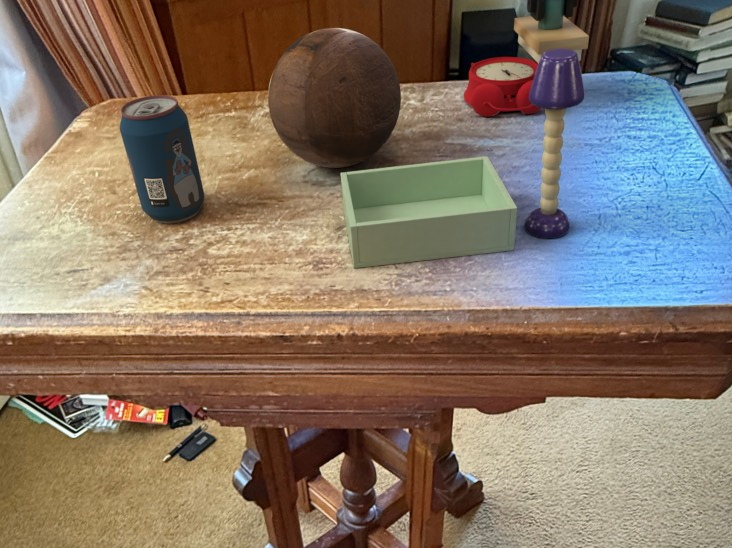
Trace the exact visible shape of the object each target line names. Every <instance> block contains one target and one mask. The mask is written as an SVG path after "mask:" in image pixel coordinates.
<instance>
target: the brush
mask: <svg viewBox="0 0 732 548" xmlns="http://www.w3.org/2000/svg"><path fill="white" fill-rule="evenodd" d="M564 6H565V0H544V13H543V19H542V20H541V21H536V20H535V19H534V18H533V17H531V15H528V16H521V17H514V23H513V30H514V32H515V33H516V34H517V35H518V38H517V43H518V44H519V45H520V46H521V47H522V48H523V49H524V50H525V52H527V53H528V54H529V55H530V57H531V58H533V60H534V62H536V63H537V64H539V61H540V58H541V56H542V54H543V53H544V52H546V51H549V50H552V49H570V50H573V51H575V52H576V53H577V55H578V58H579V62H580V61H582V52H583V50H588V49H589V42H590V41H589V40H590V35H588V33H586V32H585V31H583V30H582V29H581V28H580V27H579V26H577V25H576V24H574V23H573V22H572V21H571V20H570V19H568V17H567V16H565V15H564Z"/></svg>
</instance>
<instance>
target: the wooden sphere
mask: <svg viewBox="0 0 732 548" xmlns="http://www.w3.org/2000/svg"><path fill="white" fill-rule="evenodd" d="M269 80H270V81H269V84H268V92H267V93H268V95H267V101H268V111H269V116H270V119H271V123H272V125H273V127H274V129H275V132H276V134H277V135H278V137H279V138H280V140H281V141H282V143H283V144H284V145H285V146H286V147H287V148H288V149H289V150H290V151H291V152H292V153H293V154H295V156H297V157H299V158H300V159H301V160H303V161H306V162H308V163H310V164H312V165H315V166H318V167H323V168H331V169H338V168H347V167H350V166H354V165H357V164H359V163H362V162H364V161H366V160H368V159H369V158H371V157H372V156H374V155H375V154H376V153H377V152H378V151H380V150H381V148H382V147H384V146H385V144H386V142H387V141H388V140H389V139H390V137H391V135H392V134H393V132H394V130H395V128H396V126H397V123H398V120H399V117H400V112H401V104H402V91H401V84H400V80H399V75H398V73H397V70H396V68H395V66H394V64H393V62H392V60H391V59H390V57H389V55H388V54H387V53H386V52H385V50H384V49H383V48H382V47H381V46H379V44H377V43H376V42H375V41H374V40H373V39H371V38H370V37H368V36H367V35H365V34H362V33H360V32H358V31H355V30H352V29H348V28H341V27H330V28H329V27H328V28H322V29H317V30H315V31H312V32H309V33H307V34H305V35H303V36H301V37H299V38H298V39H297V40H295V41H294V42H293V43H292V44H290V46H288V48H287V49H286V50H285V51H284V52H283V53H282V55H281V56H280V57H279V58H278V61H277V63H276V64H275V66H274V68H273V70H272V73H271V76H270V79H269Z"/></svg>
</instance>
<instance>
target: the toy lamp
mask: <svg viewBox="0 0 732 548" xmlns="http://www.w3.org/2000/svg"><path fill="white" fill-rule="evenodd" d="M537 64H538V63H537ZM584 100H585V86H584V80H583V74H582V68H581V63H580V61H579V58H578V55H577V53H576V52H575V51H573V50H570V49H552V50H549V51H546V52H544V53H543V54H542V56H541V58H540V61H539V64H538V67H537V70H536V73H535V76H534V80H533V83H532V86H531V89H530V93H529V101H530V103H531V104H532V105H534V106H536V107H538V108H542V109H543V110H544V113H545V117H546V119H545V121H544V124H543V131H544V134H545V135H544V137H543V141H542V147H543V150H544V151H543V153H542V156H541V163H542V166H543V167H542V169H541V172H540V177H541V181H542V182H541V185H540V195H541V196H540V197H541V198H540V202H539V207H538V208H535V209H534V210H532V211H531V212H530V213H529V214H528V216H527V217H526V220H525V222H524V230H525V231H526V233H527V234H529V235H531V236H533V237H536V238H541V239H556V238H560V237H563V236H564V235H566V234H567V233H568V232H569V231H570V227H571V226H570V220H569V217H568V216H567V214H566V213H565V212H564V211H563V210H562V209H560V208H559V206H560V205H559V203H560V202H559V198H558V196H559V194H560V182H559V181H560V180H561V175H562V171H561V168H560V166H561V164H562V160H563V156H562V155H563V154H562V151H561V150H563V149H562V148H563V145H564V138H563V133H564V131H565V120H564V117H565V116H566V111H567V109H570V108H573V107H577V106H578V105H580V104H581V103H583V101H584Z"/></svg>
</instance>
